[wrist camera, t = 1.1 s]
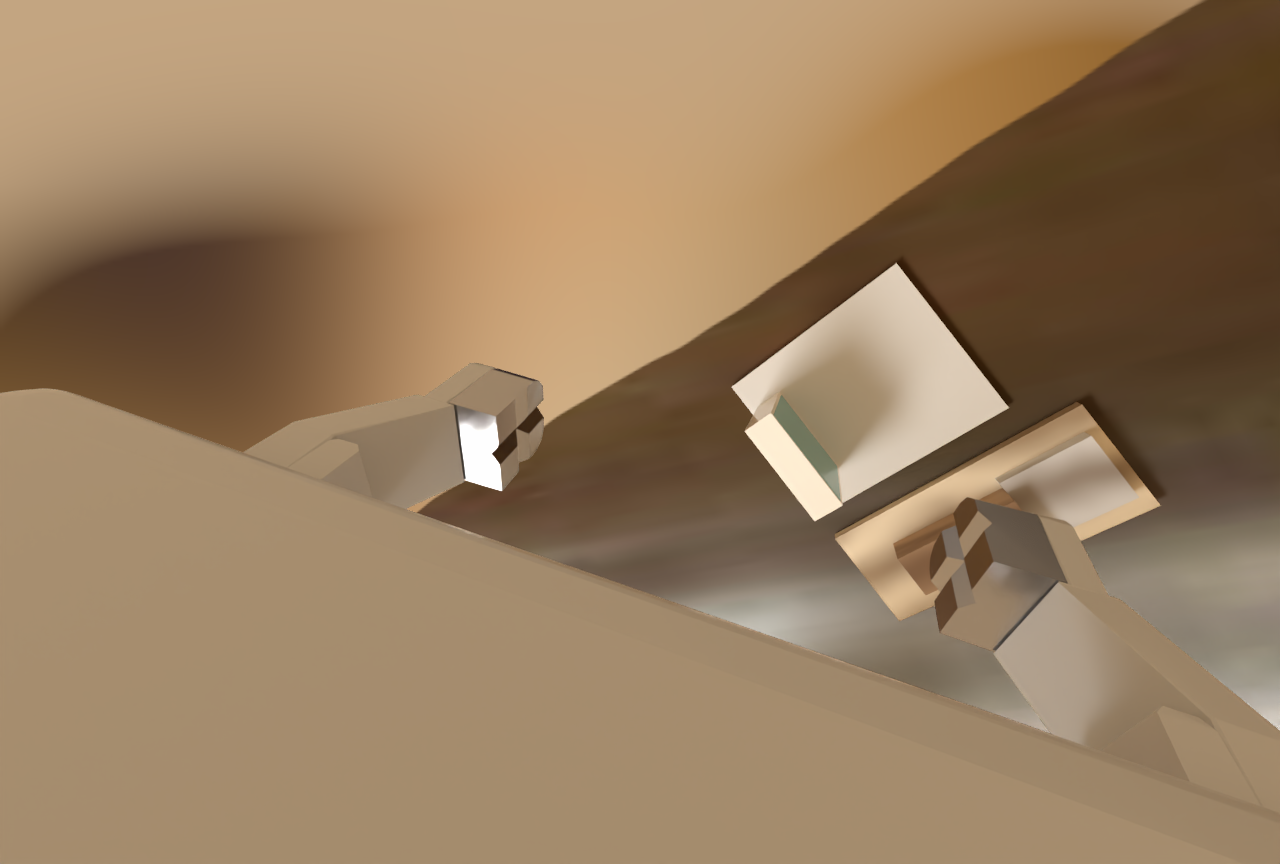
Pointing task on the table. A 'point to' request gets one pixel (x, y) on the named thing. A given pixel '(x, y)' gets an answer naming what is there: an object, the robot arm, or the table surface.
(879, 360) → the mat
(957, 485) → the board
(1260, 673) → the table surface
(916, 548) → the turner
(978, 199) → the table surface
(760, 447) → the tile
